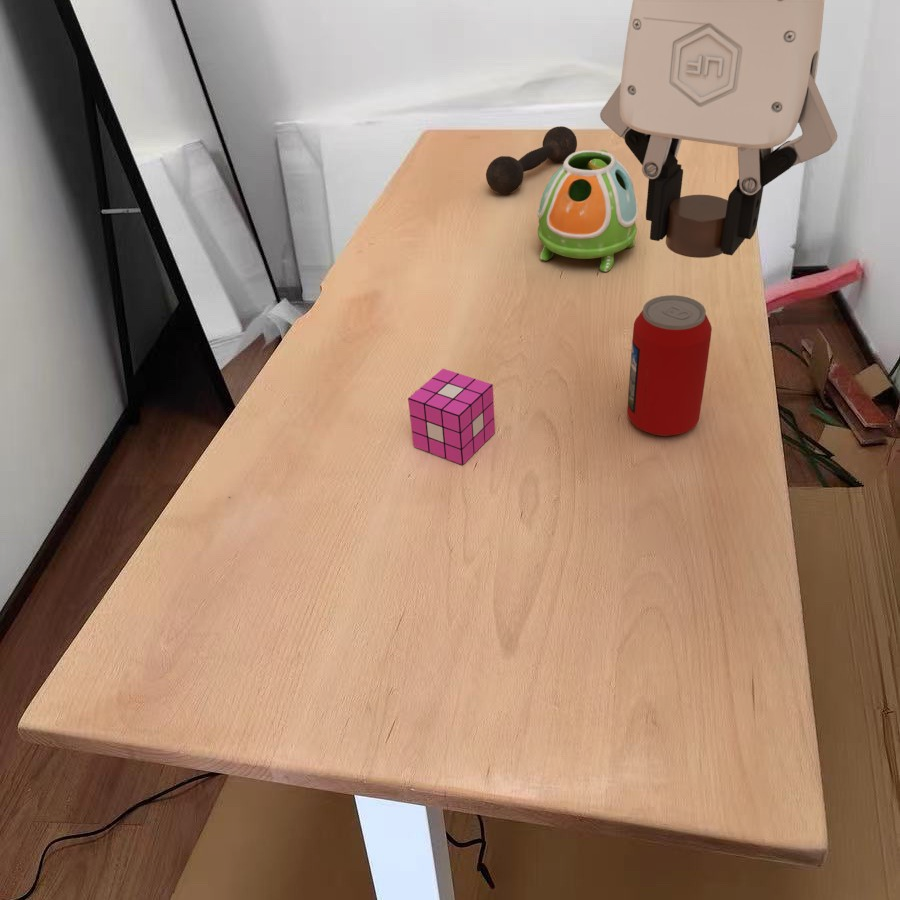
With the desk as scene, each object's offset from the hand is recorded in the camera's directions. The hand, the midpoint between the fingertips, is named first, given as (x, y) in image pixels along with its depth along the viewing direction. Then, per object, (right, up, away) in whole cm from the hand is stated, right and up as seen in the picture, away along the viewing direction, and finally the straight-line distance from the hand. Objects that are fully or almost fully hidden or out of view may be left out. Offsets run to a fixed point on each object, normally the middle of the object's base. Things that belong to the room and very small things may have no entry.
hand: (698, 236), depth 55 cm
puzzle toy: (-15, -13, +27) cm, 34 cm away
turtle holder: (+2, +13, +58) cm, 59 cm away
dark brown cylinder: (0, 0, 0) cm, 0 cm away
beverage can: (+4, -11, +27) cm, 30 cm away
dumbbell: (-3, +28, +77) cm, 82 cm away
